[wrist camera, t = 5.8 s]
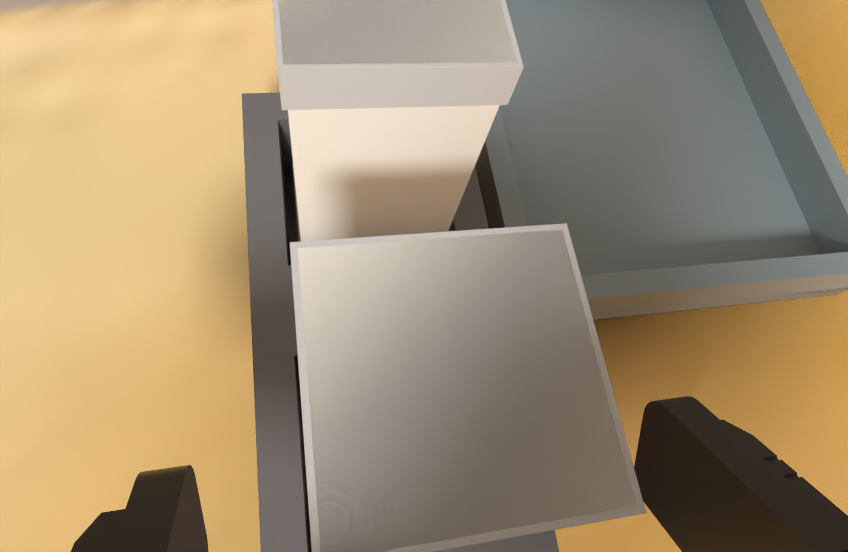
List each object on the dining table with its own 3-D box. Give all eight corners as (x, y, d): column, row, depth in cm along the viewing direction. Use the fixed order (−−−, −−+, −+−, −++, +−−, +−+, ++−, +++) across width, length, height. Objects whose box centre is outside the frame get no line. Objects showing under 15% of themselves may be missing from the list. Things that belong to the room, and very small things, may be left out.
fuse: (412, 176, 21) (478, -95, 12) (431, 283, 19) (523, 67, 10) (294, 181, 20) (264, -106, 11) (303, 294, 18) (277, 69, 9)
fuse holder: (440, 160, 22) (461, 89, 19) (516, 557, 17) (566, 566, 13) (254, 167, 21) (238, 93, 17) (275, 602, 16) (259, 627, 12)
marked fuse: (446, 374, 18) (567, 223, 9) (470, 518, 16) (646, 513, 7) (310, 390, 17) (289, 242, 8) (322, 543, 16) (313, 573, 7)
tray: (703, -4, 29) (735, -49, 26) (836, 294, 23) (893, 268, 20) (429, -9, 26) (439, -60, 24) (500, 329, 20) (522, 304, 18)
